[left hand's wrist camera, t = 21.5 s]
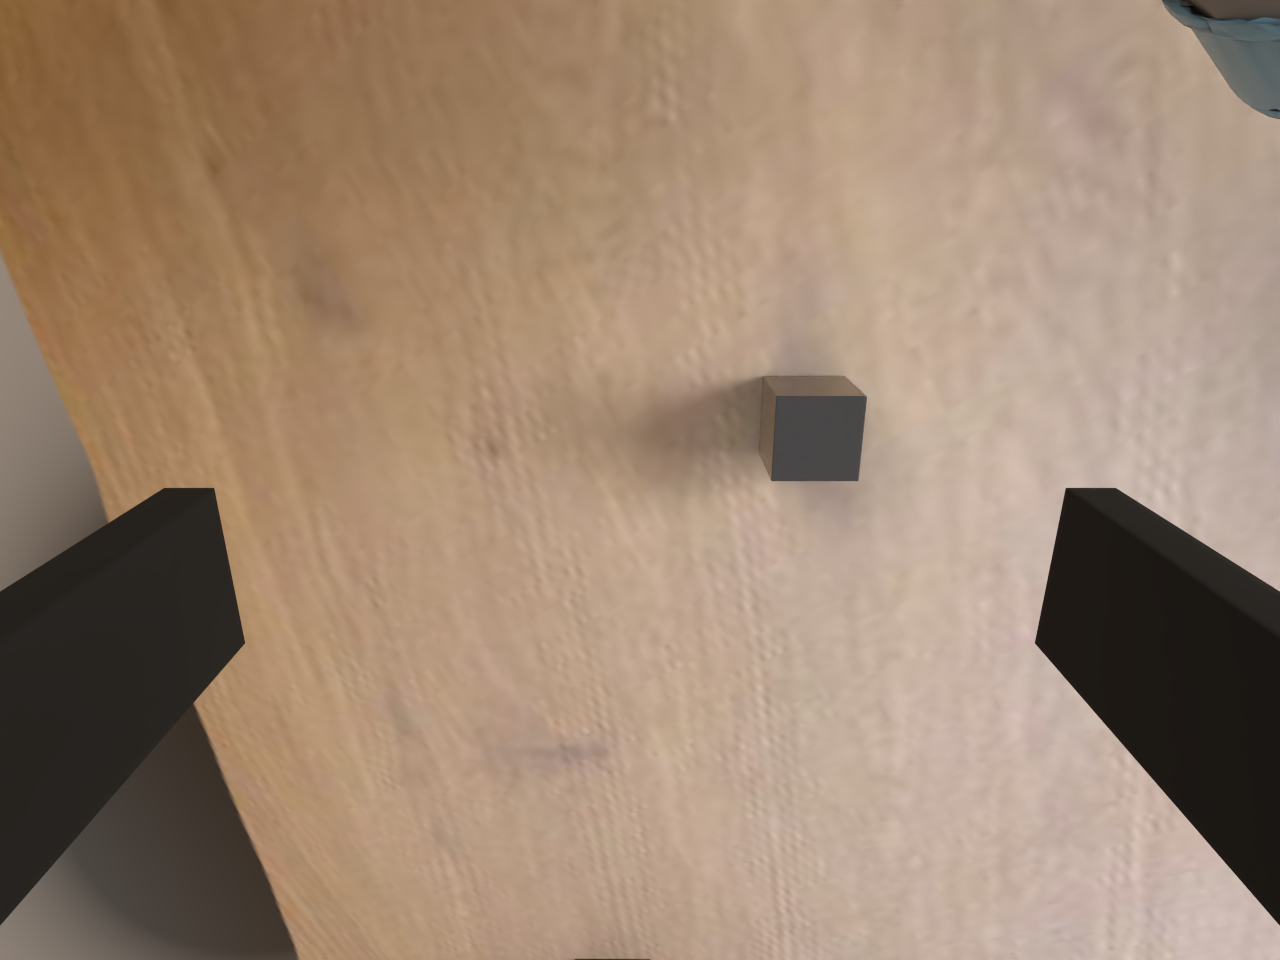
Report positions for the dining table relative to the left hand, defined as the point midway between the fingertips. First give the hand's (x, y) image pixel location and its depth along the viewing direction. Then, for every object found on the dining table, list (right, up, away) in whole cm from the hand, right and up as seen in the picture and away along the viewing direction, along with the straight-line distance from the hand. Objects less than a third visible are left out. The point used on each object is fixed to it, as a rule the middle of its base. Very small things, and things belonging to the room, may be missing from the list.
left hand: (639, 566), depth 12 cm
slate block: (+8, +5, +27) cm, 28 cm away
